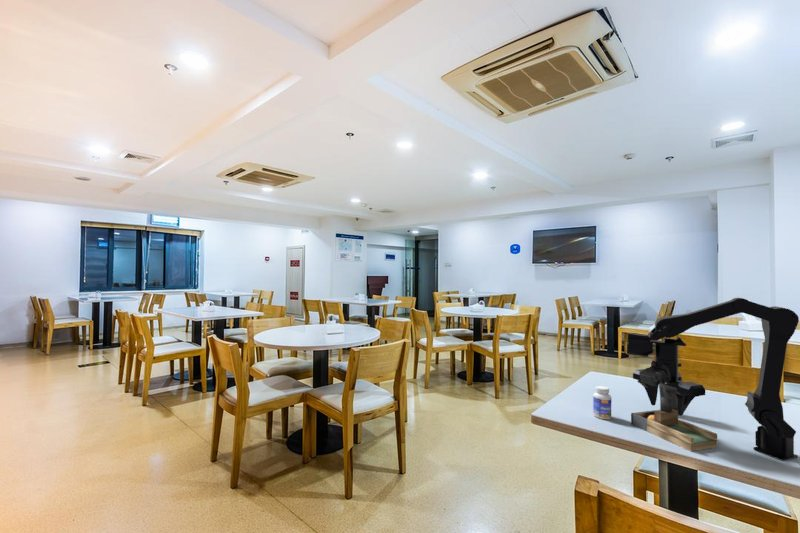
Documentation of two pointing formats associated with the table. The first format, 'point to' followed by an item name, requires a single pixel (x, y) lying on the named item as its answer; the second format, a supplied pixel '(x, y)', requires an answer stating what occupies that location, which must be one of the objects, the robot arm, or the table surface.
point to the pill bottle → (602, 403)
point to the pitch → (684, 435)
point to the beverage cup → (670, 393)
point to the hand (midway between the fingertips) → (666, 410)
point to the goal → (641, 419)
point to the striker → (666, 412)
